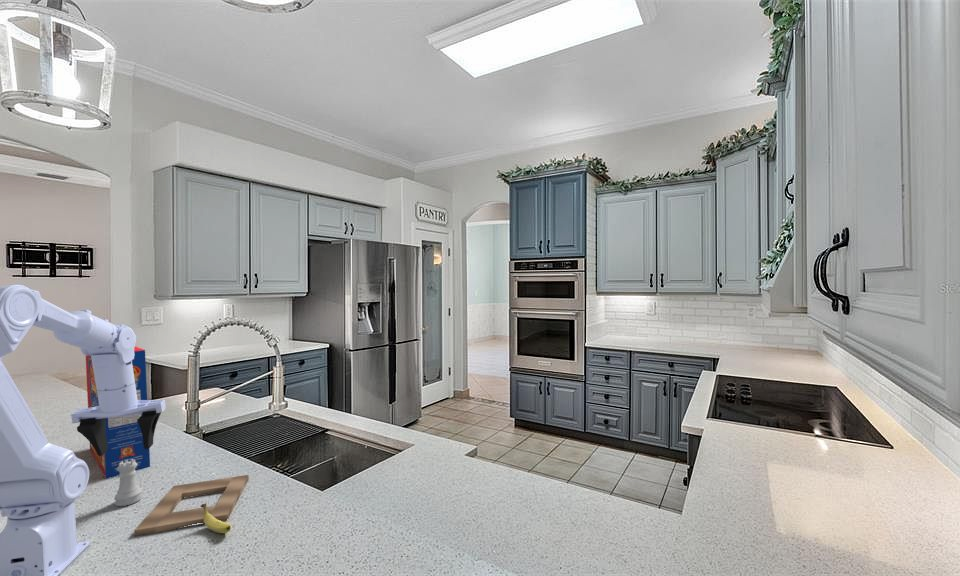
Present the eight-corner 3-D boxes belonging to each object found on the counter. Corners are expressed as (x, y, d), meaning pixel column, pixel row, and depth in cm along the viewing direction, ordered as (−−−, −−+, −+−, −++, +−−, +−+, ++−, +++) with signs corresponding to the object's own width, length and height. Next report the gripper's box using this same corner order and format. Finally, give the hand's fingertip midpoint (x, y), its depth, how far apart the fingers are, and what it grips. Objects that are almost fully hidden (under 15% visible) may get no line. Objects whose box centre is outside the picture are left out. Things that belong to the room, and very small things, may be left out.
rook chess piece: (126, 508, 82) (124, 467, 82) (107, 506, 83) (106, 465, 83) (148, 496, 86) (147, 457, 86) (130, 495, 87) (129, 456, 87)
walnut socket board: (227, 519, 77) (227, 514, 77) (134, 536, 72) (134, 530, 72) (248, 479, 93) (248, 474, 93) (173, 490, 89) (173, 485, 89)
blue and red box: (89, 449, 114) (85, 345, 114) (128, 440, 120) (123, 342, 120) (105, 478, 96) (100, 355, 95) (150, 466, 102) (145, 350, 101)
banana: (198, 528, 74) (197, 505, 74) (208, 523, 76) (207, 501, 76) (225, 540, 70) (224, 516, 70) (235, 535, 72) (234, 511, 72)
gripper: (167, 373, 89) (176, 434, 91) (82, 382, 84) (93, 445, 87) (153, 386, 82) (162, 451, 84) (59, 396, 78) (72, 464, 80)
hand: (126, 449), depth 85 cm, fingers open, 7 cm apart
